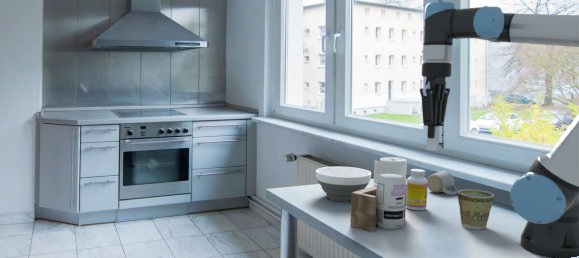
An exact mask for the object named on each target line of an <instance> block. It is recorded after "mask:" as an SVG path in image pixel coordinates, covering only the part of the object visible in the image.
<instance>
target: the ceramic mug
mask: <svg viewBox="0 0 579 258" xmlns="http://www.w3.org/2000/svg"><path fill="white" fill-rule="evenodd" d="M426 179H427V181H428V185H427V189H429V190H430V191H431V192H432V193H437V194H438V193H444V194H446V195H449V196H455V195H456V194H458V189H457V187H456V186H455V183H456V181H455V178H454V176H453V174H451V172H449V171H447V170H442V171H438V172H435V173H433V174H431V175H429V176H428V177H427V178H426ZM451 190H452V191H451Z"/></svg>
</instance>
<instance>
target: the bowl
mask: <svg viewBox="0 0 579 258" xmlns="http://www.w3.org/2000/svg"><path fill="white" fill-rule="evenodd" d="M315 176H316V180H317V182H318V183H319V185H320V186H321V189H322V190H323V193H325V194H326V197H327V199H329V200H331V201H336V202H343V201H348V202H351V196H352V192H355V191H359V190H362V189H366V188H367V186H368V185H369V184H370V182H371V178H372V172H371V171H370V170H368V169H364V168H360V167H354V166H353V167H351V166H325V167H324V166H323V167H320V168H317V169H316V170H315Z"/></svg>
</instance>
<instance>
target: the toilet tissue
mask: <svg viewBox="0 0 579 258" xmlns="http://www.w3.org/2000/svg"><path fill="white" fill-rule="evenodd" d="M407 164H408V160H407V159H406V158H404V157H403V158H402V157H396V156H395V157H391V156H389V157H388V156H387V157H386V156H385V157H380V159H379V160H378V159H374V168H373V184H376V185H377V179H378V177H379V174H382V173H396V174H401V175H404V178H405V181H406V182H407V167H408V166H407Z"/></svg>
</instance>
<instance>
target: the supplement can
mask: <svg viewBox="0 0 579 258" xmlns="http://www.w3.org/2000/svg"><path fill="white" fill-rule="evenodd" d="M376 186H377V191H376V196H377V201H376V226H378V227H379V228H381V229H383V230H384V229H385V230H400V229H402V227H404V225H405V220H404V213H405V214H406V212H405V193H406V192H407V191H406V187H407V180H406V181H405V178H404V175H401V174H396V173H382V174H379V177H378V179H377V184H376Z"/></svg>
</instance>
